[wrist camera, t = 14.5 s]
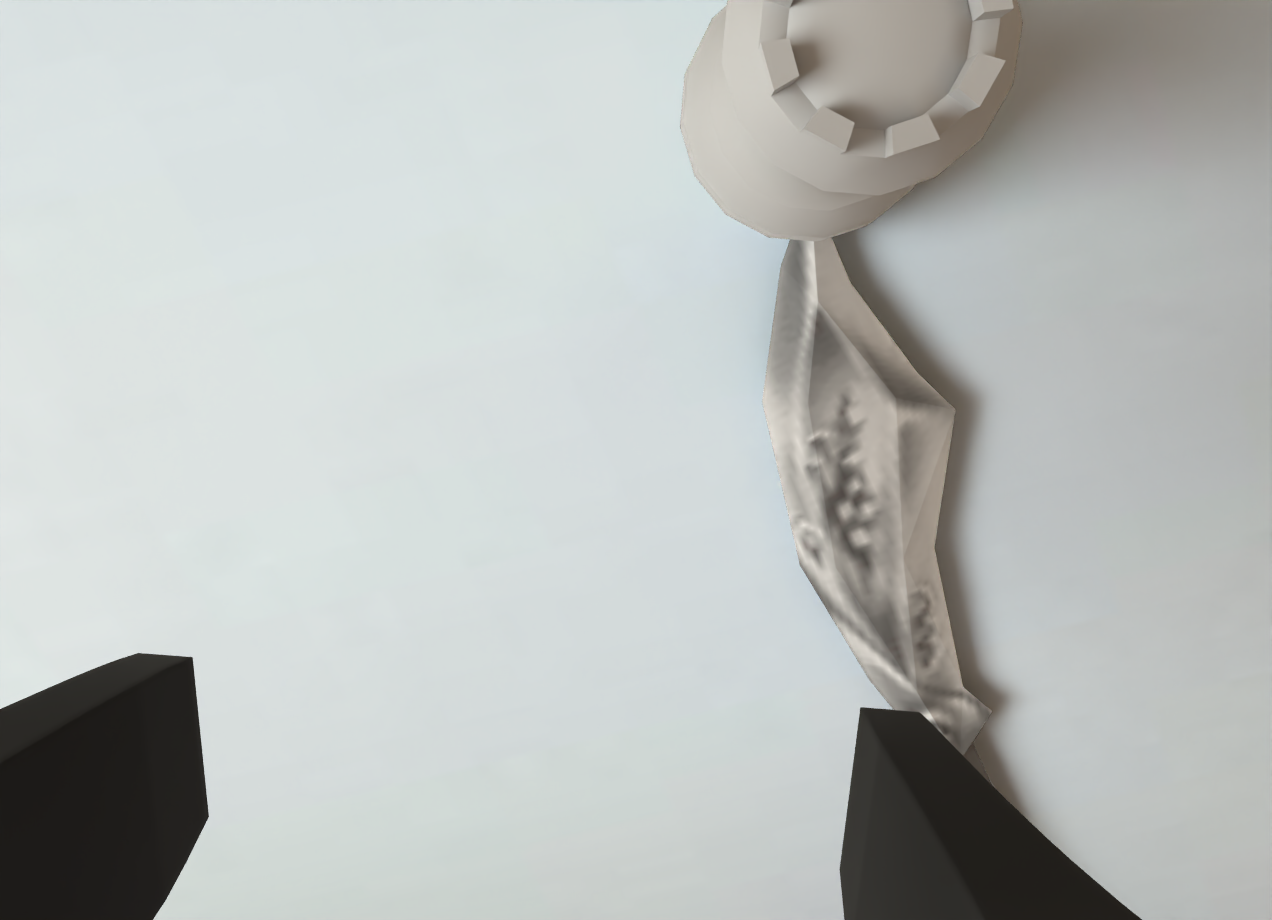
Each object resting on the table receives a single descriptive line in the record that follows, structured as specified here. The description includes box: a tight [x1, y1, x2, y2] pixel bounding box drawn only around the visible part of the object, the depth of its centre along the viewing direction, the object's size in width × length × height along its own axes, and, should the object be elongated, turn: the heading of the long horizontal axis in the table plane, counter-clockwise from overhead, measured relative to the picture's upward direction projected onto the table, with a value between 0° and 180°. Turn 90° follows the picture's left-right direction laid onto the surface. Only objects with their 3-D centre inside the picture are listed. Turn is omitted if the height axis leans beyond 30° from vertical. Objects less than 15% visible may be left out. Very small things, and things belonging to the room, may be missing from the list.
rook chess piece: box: [680, 0, 1023, 242], centre depth 14 cm, size 4×4×8 cm
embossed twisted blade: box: [762, 237, 992, 784], centre depth 22 cm, size 32×1×5 cm
